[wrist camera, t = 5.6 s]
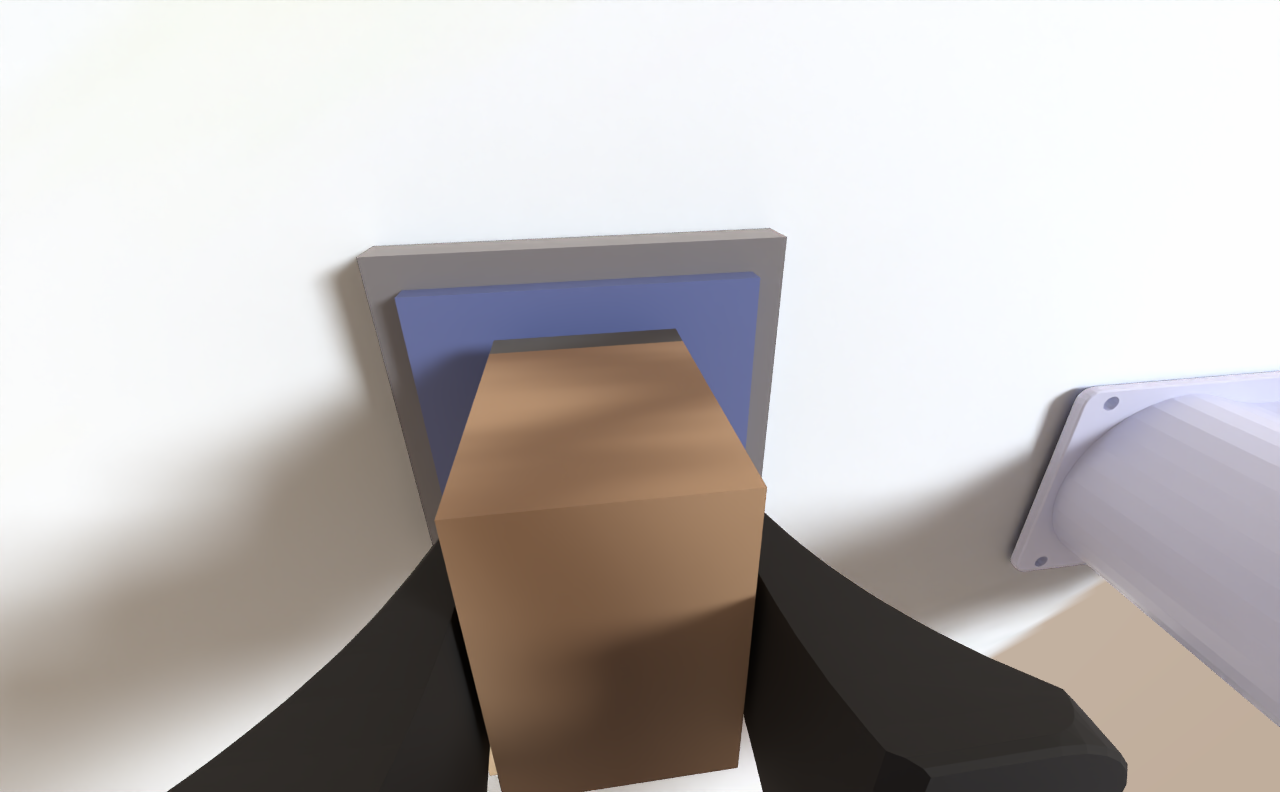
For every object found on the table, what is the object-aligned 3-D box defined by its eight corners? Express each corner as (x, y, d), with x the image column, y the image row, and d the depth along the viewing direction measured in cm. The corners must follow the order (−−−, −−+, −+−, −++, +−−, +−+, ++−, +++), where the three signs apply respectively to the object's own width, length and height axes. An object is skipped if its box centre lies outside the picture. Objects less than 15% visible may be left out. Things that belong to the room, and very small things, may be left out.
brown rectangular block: (675, 328, 12) (767, 486, 7) (674, 535, 15) (737, 767, 9) (494, 340, 11) (434, 520, 6) (526, 551, 14) (504, 804, 9)
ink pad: (769, 228, 14) (796, 241, 12) (742, 522, 19) (760, 560, 17) (373, 246, 13) (346, 263, 11) (449, 553, 18) (438, 596, 16)
